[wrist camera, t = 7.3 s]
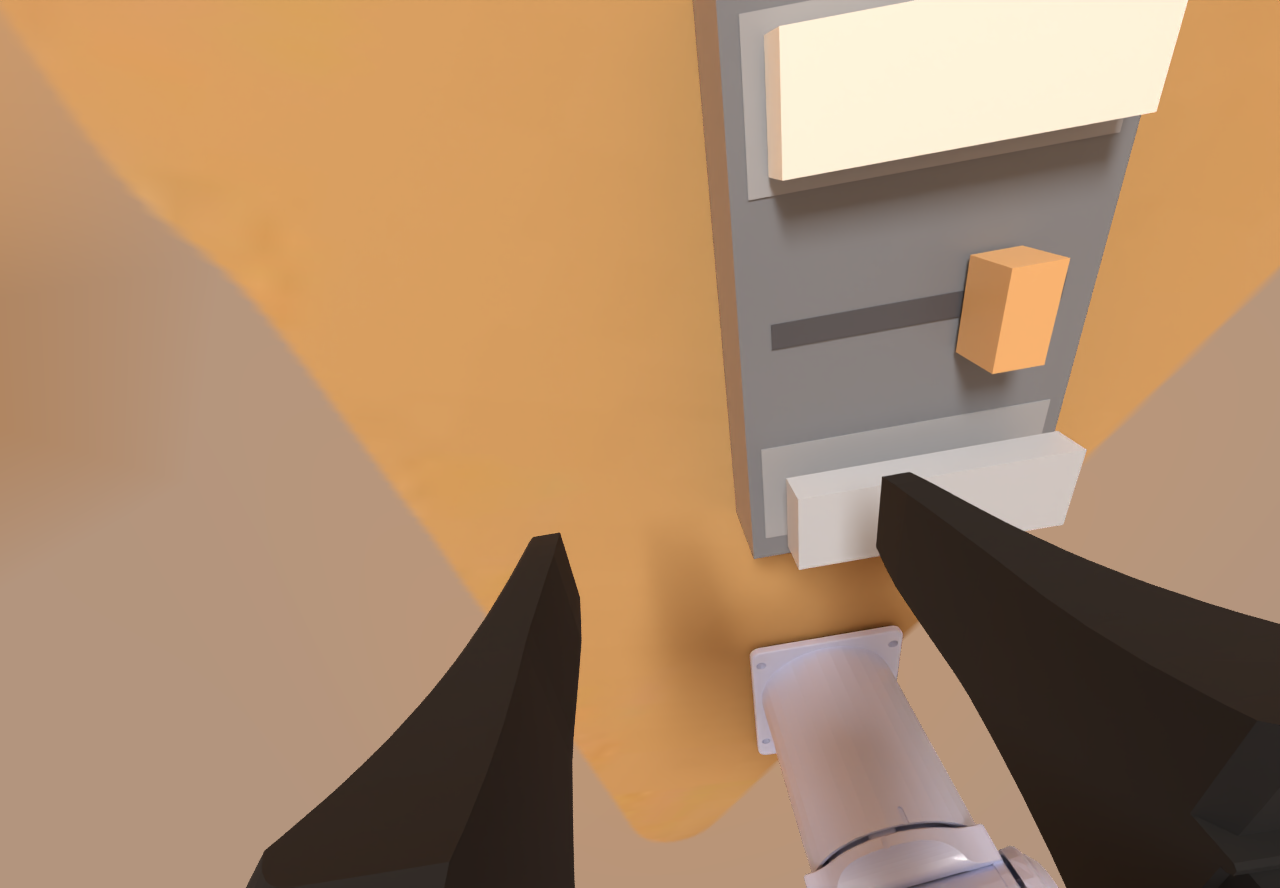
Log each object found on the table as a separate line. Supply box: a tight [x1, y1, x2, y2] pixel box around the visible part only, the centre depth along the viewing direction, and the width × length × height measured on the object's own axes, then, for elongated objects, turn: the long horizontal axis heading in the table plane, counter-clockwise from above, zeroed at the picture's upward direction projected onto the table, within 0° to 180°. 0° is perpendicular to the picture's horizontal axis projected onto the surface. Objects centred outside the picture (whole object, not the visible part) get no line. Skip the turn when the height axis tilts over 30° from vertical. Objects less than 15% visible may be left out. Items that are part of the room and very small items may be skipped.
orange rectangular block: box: [956, 246, 1070, 374], centre depth 15 cm, size 3×2×2 cm, turn 9°
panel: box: [693, 0, 1141, 559], centre depth 18 cm, size 18×11×3 cm, turn 9°
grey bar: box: [786, 431, 1086, 570], centre depth 18 cm, size 3×9×1 cm, turn 99°
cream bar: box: [764, 0, 1188, 181], centre depth 13 cm, size 3×9×1 cm, turn 99°
